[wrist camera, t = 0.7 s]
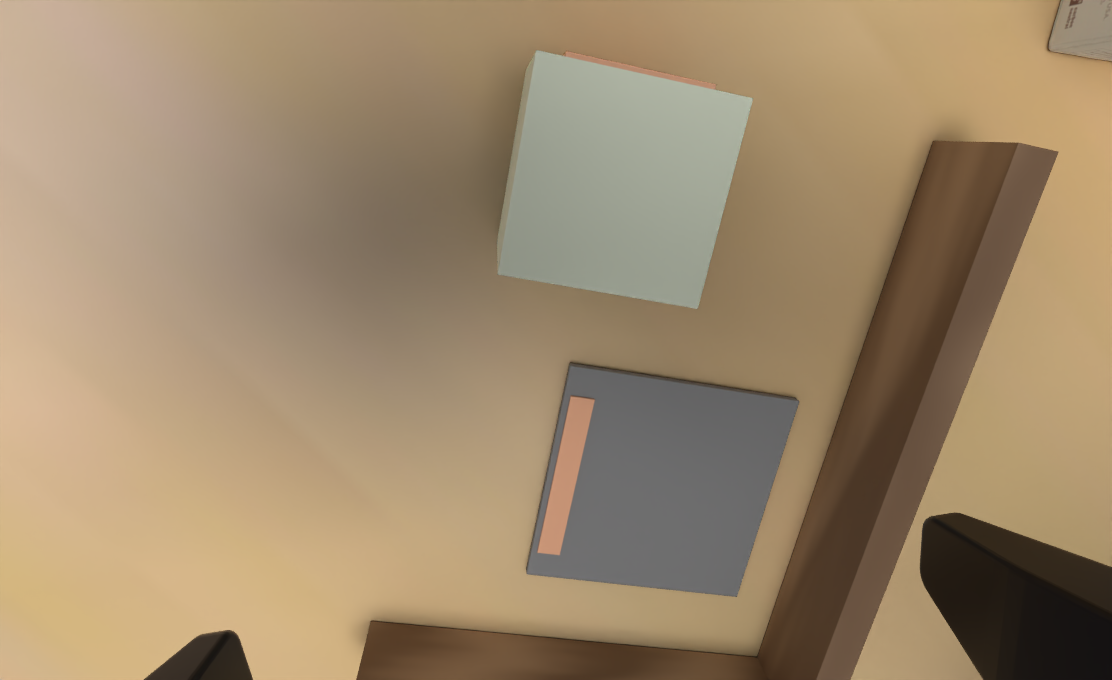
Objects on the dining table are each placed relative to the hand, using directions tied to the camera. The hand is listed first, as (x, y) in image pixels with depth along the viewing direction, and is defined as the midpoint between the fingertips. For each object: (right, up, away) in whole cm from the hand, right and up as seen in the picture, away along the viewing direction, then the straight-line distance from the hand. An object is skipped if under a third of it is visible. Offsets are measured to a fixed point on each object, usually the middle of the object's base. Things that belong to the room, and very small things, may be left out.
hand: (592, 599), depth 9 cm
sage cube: (+1, +8, +12) cm, 14 cm away
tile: (+3, -2, +15) cm, 15 cm away
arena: (+3, 0, +14) cm, 14 cm away
